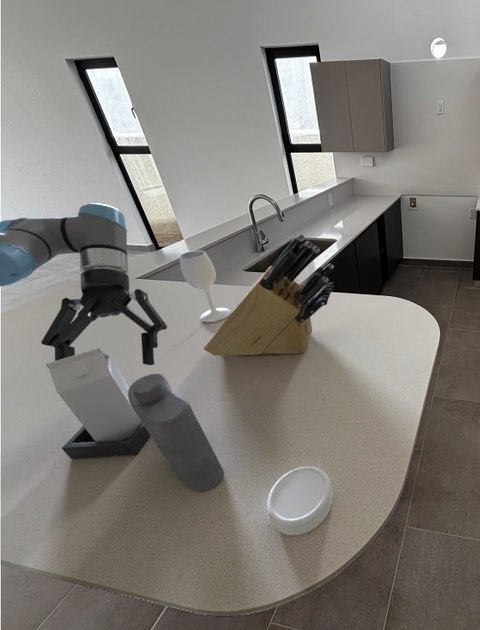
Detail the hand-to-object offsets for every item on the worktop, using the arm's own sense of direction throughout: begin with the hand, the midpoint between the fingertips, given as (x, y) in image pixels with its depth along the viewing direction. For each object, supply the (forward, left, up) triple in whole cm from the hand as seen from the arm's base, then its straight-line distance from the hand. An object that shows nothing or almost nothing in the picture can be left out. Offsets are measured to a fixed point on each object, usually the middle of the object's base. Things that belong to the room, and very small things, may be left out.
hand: (109, 371), depth 67 cm
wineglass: (0, +40, -12) cm, 42 cm away
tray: (+2, -6, -11) cm, 13 cm away
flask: (+20, -15, -12) cm, 27 cm away
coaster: (+42, -24, -12) cm, 49 cm away
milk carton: (+2, -5, -11) cm, 12 cm away
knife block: (+25, +23, -12) cm, 36 cm away
